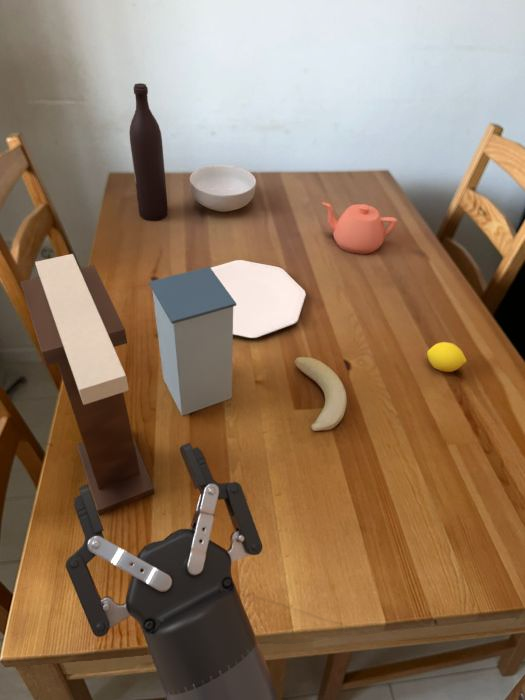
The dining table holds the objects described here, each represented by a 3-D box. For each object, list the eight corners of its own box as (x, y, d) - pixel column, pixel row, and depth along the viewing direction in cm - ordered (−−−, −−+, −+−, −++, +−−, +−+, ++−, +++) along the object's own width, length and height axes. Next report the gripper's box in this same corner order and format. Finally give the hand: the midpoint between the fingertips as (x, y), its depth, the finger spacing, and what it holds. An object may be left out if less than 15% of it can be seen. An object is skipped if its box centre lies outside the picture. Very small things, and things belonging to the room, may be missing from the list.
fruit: (331, 363, 94) (333, 350, 92) (354, 429, 84) (357, 416, 81) (293, 366, 93) (294, 353, 91) (311, 433, 83) (313, 420, 80)
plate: (220, 355, 94) (220, 350, 93) (169, 285, 108) (168, 279, 107) (325, 317, 103) (326, 311, 102) (265, 256, 117) (265, 251, 116)
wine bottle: (161, 204, 132) (149, 78, 111) (172, 217, 128) (162, 88, 107) (135, 210, 129) (117, 82, 108) (146, 223, 125) (130, 93, 104)
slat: (83, 405, 44) (78, 390, 43) (39, 276, 56) (34, 261, 55) (129, 390, 46) (126, 375, 44) (76, 268, 58) (72, 253, 56)
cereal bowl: (261, 218, 129) (263, 192, 124) (195, 223, 126) (194, 197, 121) (247, 186, 141) (248, 162, 136) (186, 190, 138) (185, 165, 133)
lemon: (421, 372, 94) (430, 351, 90) (423, 353, 98) (431, 332, 94) (461, 382, 93) (471, 361, 89) (461, 361, 96) (471, 341, 93)
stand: (99, 515, 71) (41, 352, 48) (78, 449, 78) (20, 281, 56) (154, 493, 74) (124, 329, 51) (130, 431, 81) (94, 264, 59)
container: (180, 417, 84) (171, 321, 69) (161, 378, 89) (148, 281, 75) (234, 398, 87) (236, 303, 72) (211, 361, 93) (209, 266, 78)
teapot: (389, 261, 119) (399, 225, 112) (313, 248, 121) (318, 212, 114) (391, 234, 127) (401, 199, 121) (320, 222, 129) (325, 187, 123)
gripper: (310, 625, 38) (223, 423, 41) (121, 742, 32) (39, 498, 36) (279, 613, 44) (207, 440, 48) (119, 707, 39) (50, 505, 43)
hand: (135, 465), depth 42 cm, fingers open, 8 cm apart
